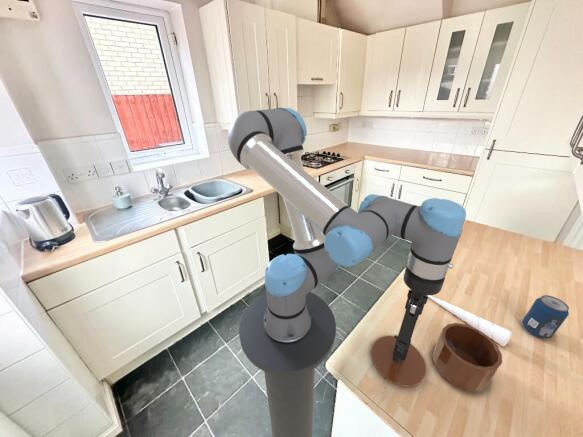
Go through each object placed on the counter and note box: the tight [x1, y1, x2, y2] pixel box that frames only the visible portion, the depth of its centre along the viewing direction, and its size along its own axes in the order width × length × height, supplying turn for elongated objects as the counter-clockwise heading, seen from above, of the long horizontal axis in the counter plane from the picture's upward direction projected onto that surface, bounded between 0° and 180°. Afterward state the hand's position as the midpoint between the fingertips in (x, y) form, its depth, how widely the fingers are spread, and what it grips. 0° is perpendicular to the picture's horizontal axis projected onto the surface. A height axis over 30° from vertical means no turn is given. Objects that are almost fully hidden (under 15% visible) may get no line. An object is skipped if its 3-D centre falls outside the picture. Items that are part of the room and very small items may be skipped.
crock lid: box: [371, 335, 427, 388], centre depth 65 cm, size 14×14×9 cm
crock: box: [432, 322, 503, 393], centre depth 63 cm, size 13×13×10 cm
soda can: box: [521, 294, 570, 340], centre depth 71 cm, size 7×7×12 cm
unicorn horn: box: [427, 295, 513, 347], centre depth 78 cm, size 5×24×5 cm, turn 32°
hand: (406, 335), depth 62 cm, fingers open, 13 cm apart
